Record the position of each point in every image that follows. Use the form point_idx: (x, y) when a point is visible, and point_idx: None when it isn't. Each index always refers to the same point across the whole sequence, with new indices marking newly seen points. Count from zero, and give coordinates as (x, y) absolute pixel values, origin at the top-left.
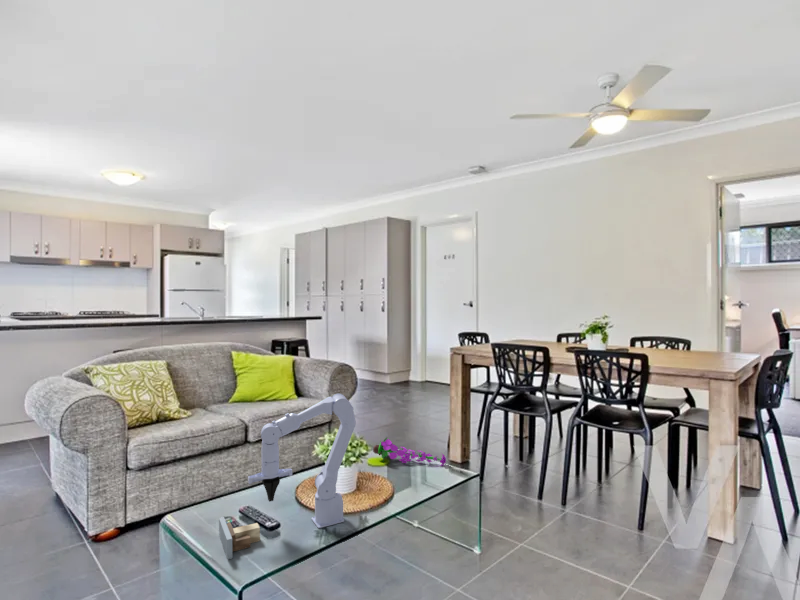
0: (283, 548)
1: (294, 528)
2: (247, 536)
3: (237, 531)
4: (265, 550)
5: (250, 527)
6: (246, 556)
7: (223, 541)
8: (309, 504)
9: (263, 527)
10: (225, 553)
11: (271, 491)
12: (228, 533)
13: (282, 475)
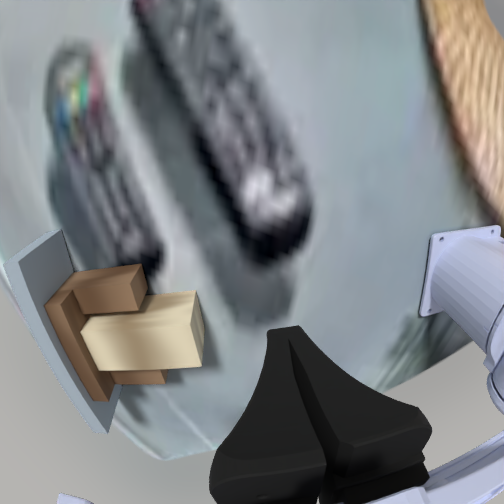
0: None
1: (353, 283)
2: (153, 374)
3: (108, 361)
4: (220, 385)
5: (159, 353)
6: (162, 392)
7: None
8: (458, 93)
9: (228, 223)
10: None
11: (304, 406)
12: (84, 406)
13: (453, 476)
